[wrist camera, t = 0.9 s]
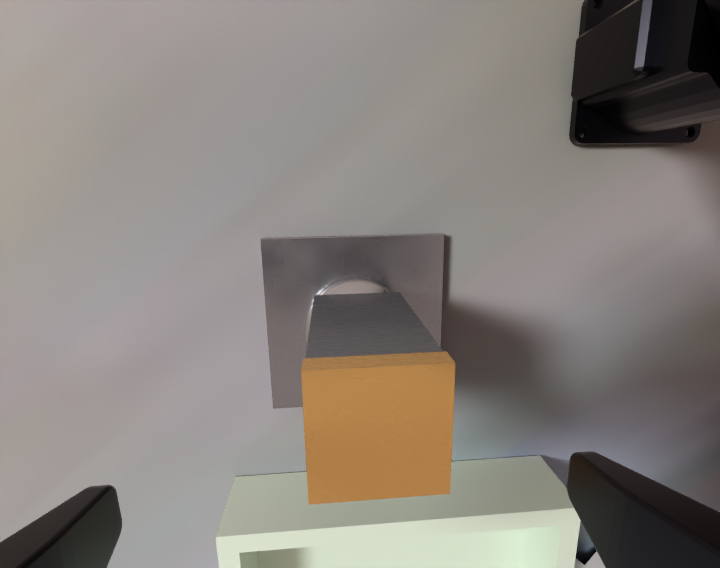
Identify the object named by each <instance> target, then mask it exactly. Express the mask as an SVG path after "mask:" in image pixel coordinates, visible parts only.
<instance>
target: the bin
mask: <svg viewBox="0 0 720 568" xmlns="http://www.w3.org/2000/svg"><path fill="white" fill-rule="evenodd" d="M580 521H581V520H580V518H579V516H578V515H577V513H576V511H575V509H574V507H573V505H572V503H571V501H570V499H569V496H568V492H567V488H566V487H565V486H564V484H563V483H562V482H561V481H560V479H559V478H558V477H557V476H556V475H555V473H554V472H553V471H552V470H551V468H550V467H549V466H548V465H547V464H546V462H545V461H544V460H543V459H542V457H541V456H540V455H538V456H523V457H509V458H495V459H481V460H466V461H452V462H451V485H450V494H441V495H428V496H415V497H402V498H389V499H376V500H363V501H350V502H337V503H324V504H311V505H309V504H308V486H307V472H295V473H281V474H267V475H253V476H238V477H235V480H234V483H233V486H232V489H231V492H230V495H229V498H228V501H227V504H226V507H225V510H224V513H223V516H222V519H221V522H220V525H219V528H218V531H217V534H216V545H217V553H218V562H219V568H574V566H575V558H576V551H577V543H578V536H579V528H580Z"/></svg>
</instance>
